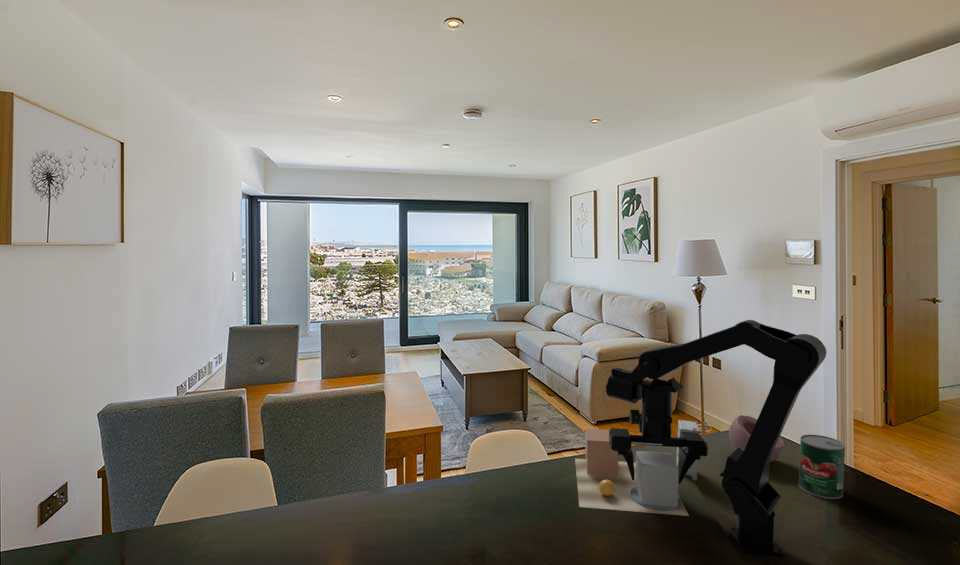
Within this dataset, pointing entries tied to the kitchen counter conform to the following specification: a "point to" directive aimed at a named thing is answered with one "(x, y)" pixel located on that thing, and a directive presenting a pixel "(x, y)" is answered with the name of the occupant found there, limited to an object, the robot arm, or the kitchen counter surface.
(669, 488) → the pale slate cube
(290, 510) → the kitchen counter surface
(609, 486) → the amber marble
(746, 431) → the mortar and pestle
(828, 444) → the canned tomato
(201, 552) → the kitchen counter surface
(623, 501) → the oak board
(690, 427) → the skincare box
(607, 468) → the pink sandstone cube
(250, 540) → the kitchen counter surface
